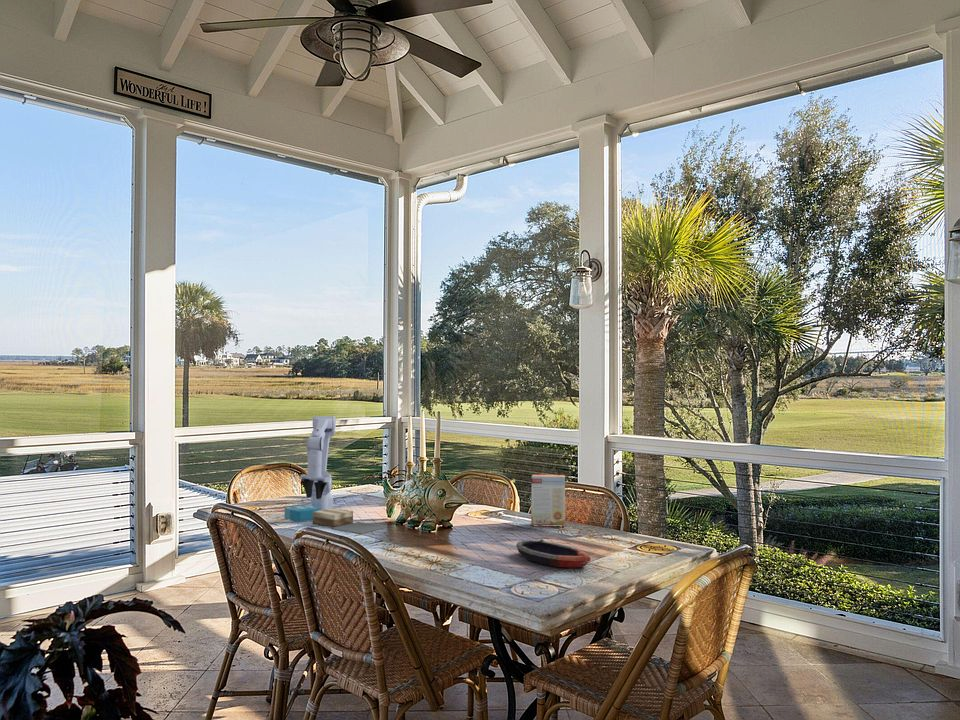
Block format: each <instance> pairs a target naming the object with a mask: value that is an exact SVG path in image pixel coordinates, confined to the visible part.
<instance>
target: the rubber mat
mask: <svg viewBox="0 0 960 720" xmlns="http://www.w3.org/2000/svg"><path fill="white" fill-rule="evenodd" d="M386 528H389V527H388V525H381V524H377V523H370V522H369V523H368V522H364V521H363V522H362V521H355V522H353V523H350V524H346V525H342V526H338V527H330V529H331V530H334V531H335V530H336V531H341V532H348V533H354V534H359V535H362V534H363V535H364V534H367V533H371V532H374V531H379V530H381V529H386Z"/></svg>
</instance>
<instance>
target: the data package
mask: <svg viewBox="0 0 960 720" xmlns="http://www.w3.org/2000/svg"><path fill="white" fill-rule="evenodd" d="M319 510H321V508H319V507H315V506H312V505H311V504H301V505H293V506H287V507H284V516H283V517H284V519H285V520H289V521H292V522H295V523H303V522H309V521H313V512H314V511H319Z"/></svg>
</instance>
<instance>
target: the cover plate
mask: <svg viewBox="0 0 960 720" xmlns="http://www.w3.org/2000/svg"><path fill="white" fill-rule="evenodd" d="M351 516H353V517H354V511H353V510H348V509H341V508H334V507H333V508H329V509H324V510H319V511H314V512H313V517H318V518H324V519H330V520H337V519H342V518H346V517H351Z"/></svg>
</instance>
